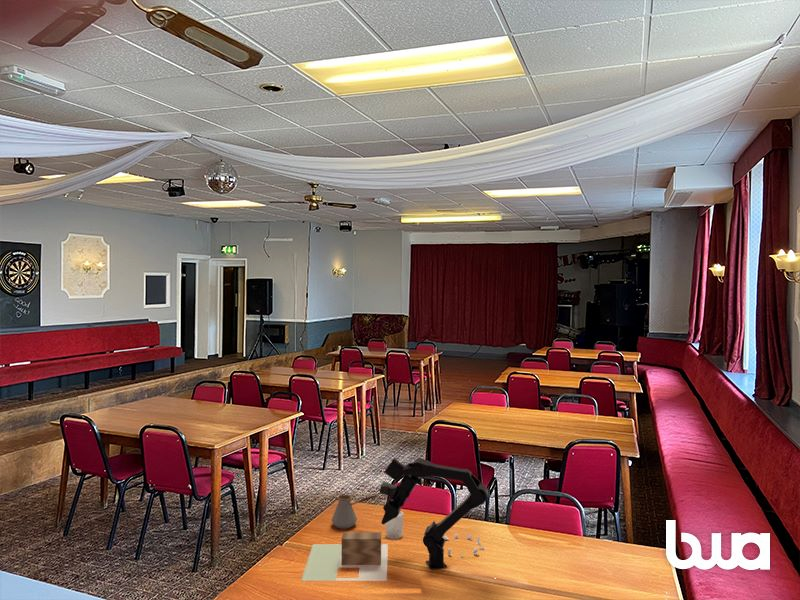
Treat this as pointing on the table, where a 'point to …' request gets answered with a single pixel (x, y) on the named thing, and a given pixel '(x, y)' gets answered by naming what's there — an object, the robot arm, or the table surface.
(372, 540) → the brown wooden block
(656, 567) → the table surface
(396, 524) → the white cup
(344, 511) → the coffee pot
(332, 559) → the trap board
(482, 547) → the game piece set
